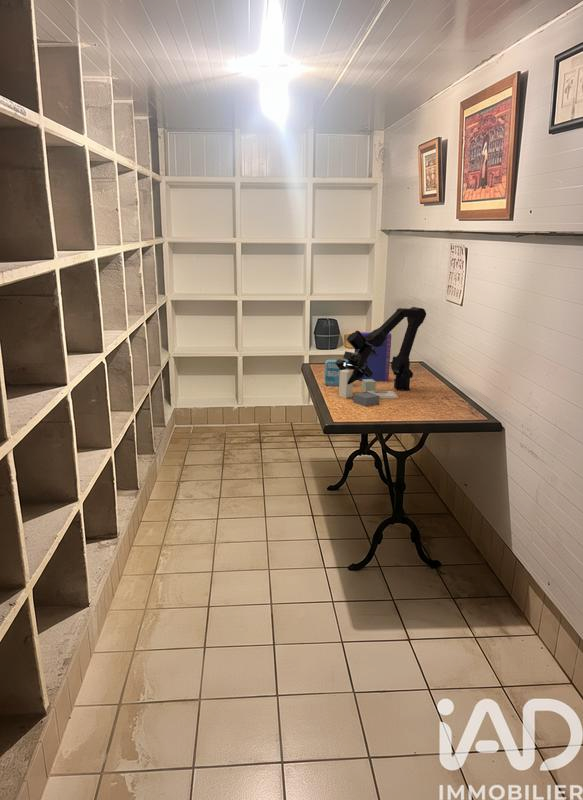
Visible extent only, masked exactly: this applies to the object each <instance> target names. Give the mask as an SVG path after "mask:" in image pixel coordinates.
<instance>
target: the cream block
mask: <svg viewBox="0 0 583 800" xmlns="http://www.w3.org/2000/svg"><path fill="white" fill-rule="evenodd" d="M353 371H354V370H352V369H351V370H348V369H345V370H340V378H339V386H338V397H339V396H340V398H342V397H344V399H350V398H353V394H354V382H352V383H351V384H347V383H348V380H349V379H350V377H351V376H352V374H353ZM349 397H350V398H349Z"/></svg>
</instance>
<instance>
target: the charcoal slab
mask: <svg viewBox="0 0 583 800" xmlns="http://www.w3.org/2000/svg"><path fill="white" fill-rule="evenodd" d="M379 398H380V396H379V395H376V394H373V393H369V392H364V391H362V392H358V393H357V392H356V393H353V397H352V403H353V402H354V403H353V404H356V403H357V404H356V405H359V404H360V406H362V405H364V406H363V407H370V406H369V405H371V406H375V405H374V404H376V405H379V404H380V399H379Z"/></svg>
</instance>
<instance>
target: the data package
mask: <svg viewBox="0 0 583 800" xmlns="http://www.w3.org/2000/svg"><path fill="white" fill-rule="evenodd" d="M337 360H338V359H326V360H325V362H324V363H325V364H324V383H325V385H326V386H329V387H330V386H333V387H339V378H340V369H339V368H338V366H337V365H336V364H335V363H336V361H337ZM344 360H345V361H346V363H347V364H350V363H348V360H347V359H344ZM349 370H352V369H349ZM334 385H335V386H334Z"/></svg>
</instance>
